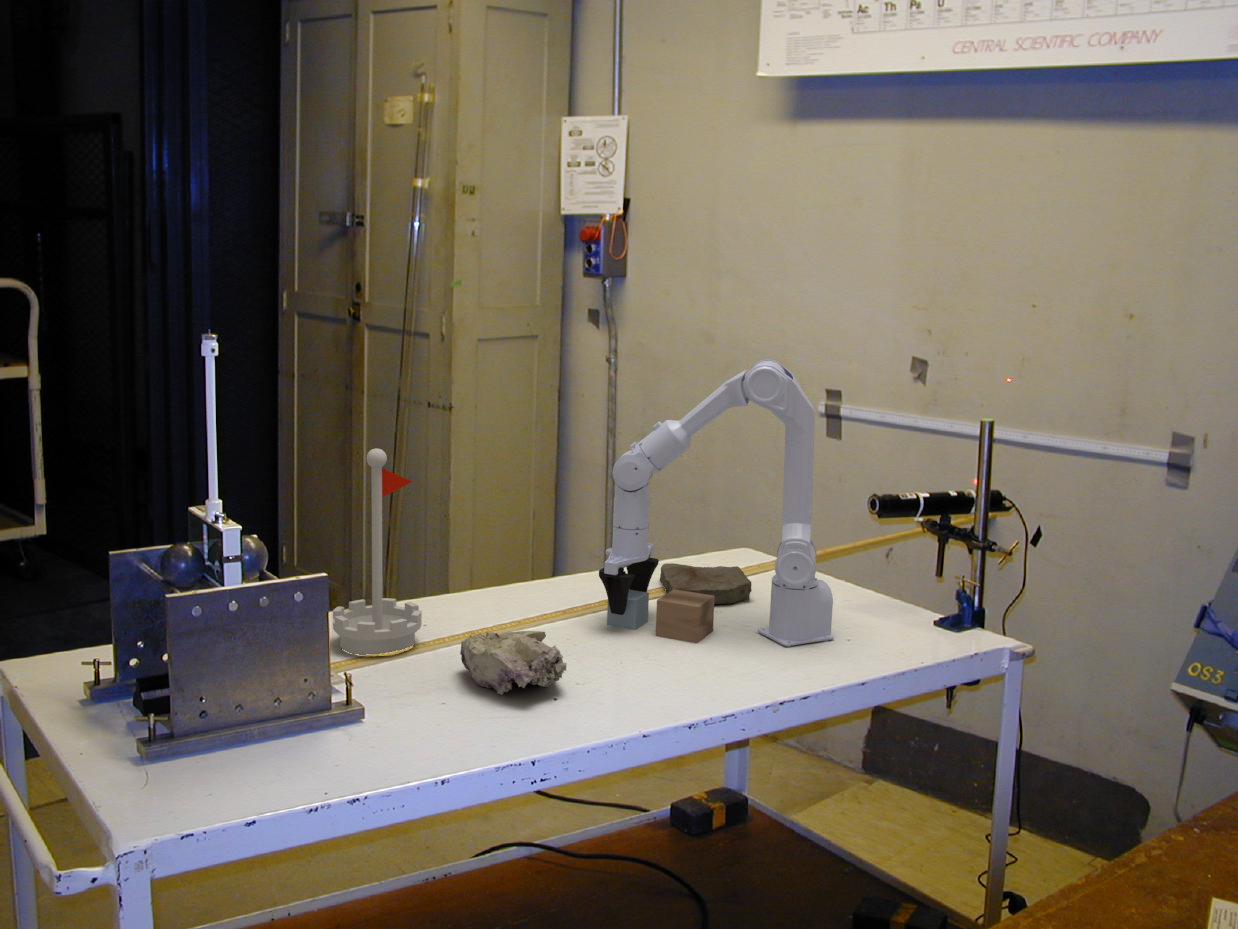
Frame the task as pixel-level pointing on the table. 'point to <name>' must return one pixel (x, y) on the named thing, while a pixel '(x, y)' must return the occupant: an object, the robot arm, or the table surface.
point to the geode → (511, 660)
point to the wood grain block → (685, 616)
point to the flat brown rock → (707, 581)
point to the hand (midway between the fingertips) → (627, 607)
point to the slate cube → (631, 612)
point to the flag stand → (377, 586)
